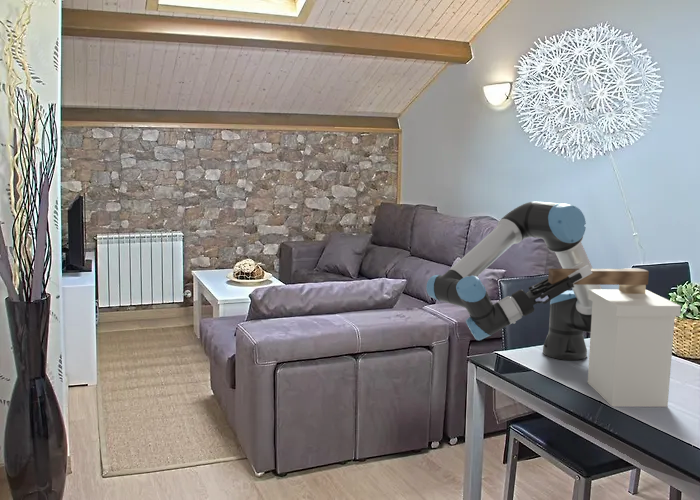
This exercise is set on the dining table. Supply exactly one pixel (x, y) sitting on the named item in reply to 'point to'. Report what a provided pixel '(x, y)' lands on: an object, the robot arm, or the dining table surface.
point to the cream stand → (631, 347)
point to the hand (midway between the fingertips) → (587, 267)
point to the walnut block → (603, 276)
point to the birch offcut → (632, 289)
